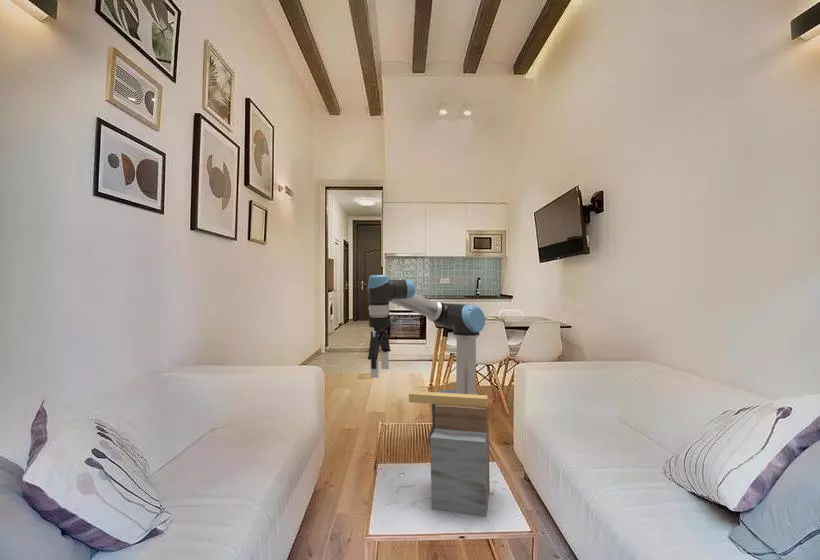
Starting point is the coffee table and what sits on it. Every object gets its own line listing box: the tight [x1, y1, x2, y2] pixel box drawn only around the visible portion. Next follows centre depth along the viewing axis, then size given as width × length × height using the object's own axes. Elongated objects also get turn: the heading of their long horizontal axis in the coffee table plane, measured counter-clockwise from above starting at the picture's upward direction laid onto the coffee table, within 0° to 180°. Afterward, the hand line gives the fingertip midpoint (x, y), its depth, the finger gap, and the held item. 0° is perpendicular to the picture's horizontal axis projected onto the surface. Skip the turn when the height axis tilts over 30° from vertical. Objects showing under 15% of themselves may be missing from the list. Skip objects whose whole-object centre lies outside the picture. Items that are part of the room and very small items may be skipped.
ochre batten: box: [408, 390, 489, 407], centre depth 144 cm, size 4×28×3 cm, turn 75°
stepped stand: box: [429, 404, 491, 517], centre depth 139 cm, size 16×18×32 cm
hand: (380, 373), depth 150 cm, fingers open, 13 cm apart
